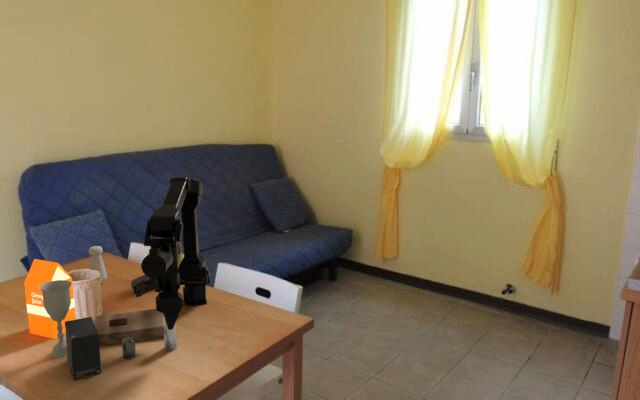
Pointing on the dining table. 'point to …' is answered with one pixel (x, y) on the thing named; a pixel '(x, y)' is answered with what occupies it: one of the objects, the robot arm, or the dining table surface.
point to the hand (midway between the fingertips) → (169, 321)
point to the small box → (82, 348)
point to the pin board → (129, 326)
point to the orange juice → (34, 298)
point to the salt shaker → (97, 261)
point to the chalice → (57, 309)
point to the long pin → (169, 337)
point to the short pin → (128, 347)
